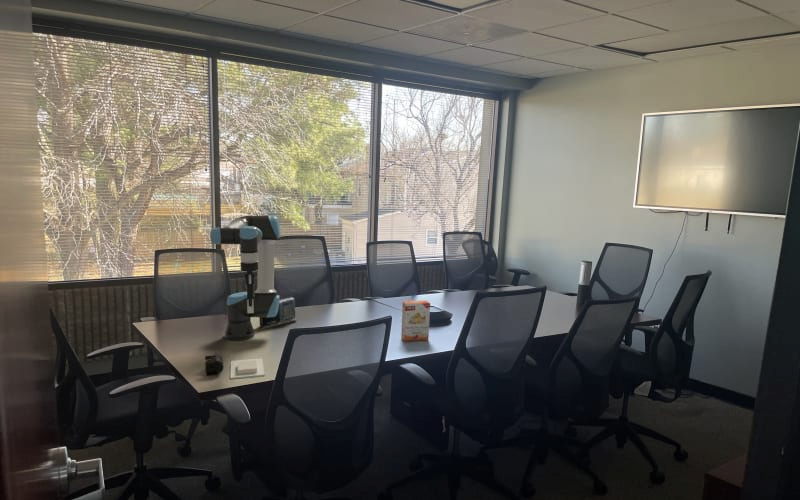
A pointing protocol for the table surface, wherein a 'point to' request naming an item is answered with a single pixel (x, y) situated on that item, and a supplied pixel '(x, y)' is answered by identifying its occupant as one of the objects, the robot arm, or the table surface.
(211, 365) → the end cap
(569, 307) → the table surface
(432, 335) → the table surface
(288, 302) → the radio
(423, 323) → the cracker box
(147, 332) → the table surface
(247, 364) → the tile
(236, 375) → the mat
